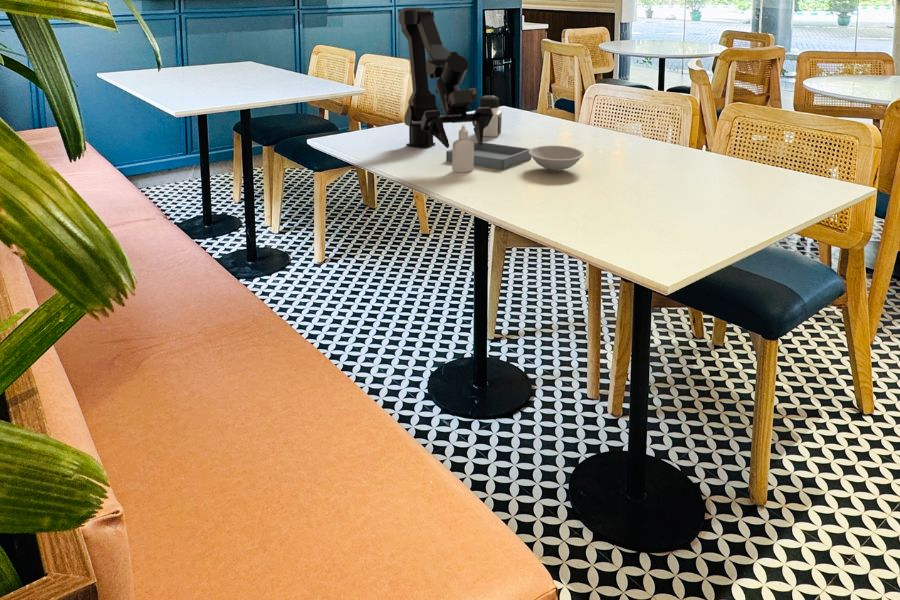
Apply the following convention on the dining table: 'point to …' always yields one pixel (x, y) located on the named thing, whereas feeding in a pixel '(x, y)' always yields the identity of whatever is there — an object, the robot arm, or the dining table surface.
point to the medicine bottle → (495, 122)
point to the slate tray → (496, 155)
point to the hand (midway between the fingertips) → (464, 146)
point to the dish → (556, 157)
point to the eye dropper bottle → (463, 153)
